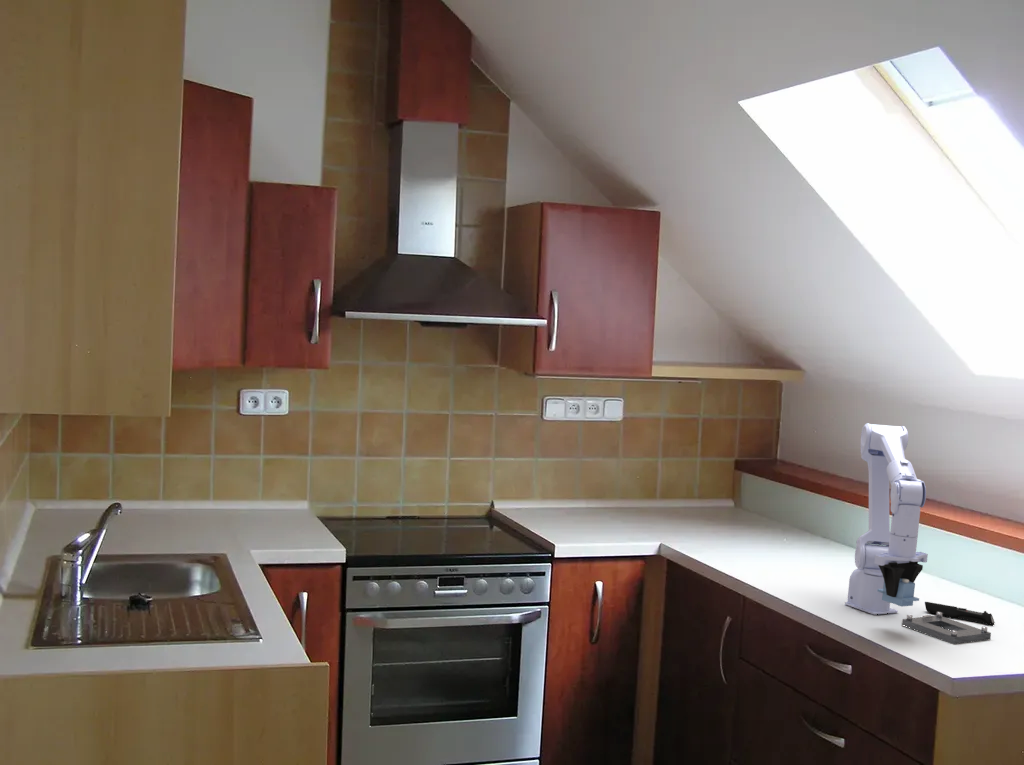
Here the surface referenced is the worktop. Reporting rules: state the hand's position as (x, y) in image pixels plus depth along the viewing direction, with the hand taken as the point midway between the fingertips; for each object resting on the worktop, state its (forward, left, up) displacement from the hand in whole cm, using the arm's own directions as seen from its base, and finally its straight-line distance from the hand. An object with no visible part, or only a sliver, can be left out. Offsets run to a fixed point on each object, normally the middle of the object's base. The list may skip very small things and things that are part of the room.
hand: (897, 595), depth 245 cm
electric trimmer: (-3, +26, -9) cm, 28 cm away
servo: (0, 0, -2) cm, 2 cm away
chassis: (+4, +12, -8) cm, 15 cm away
